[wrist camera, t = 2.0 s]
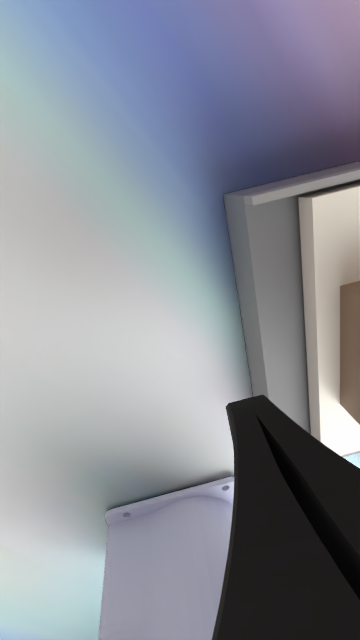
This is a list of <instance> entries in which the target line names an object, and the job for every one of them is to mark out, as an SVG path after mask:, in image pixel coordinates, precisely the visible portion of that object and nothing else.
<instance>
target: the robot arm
mask: <svg viewBox="0 0 360 640" xmlns="http://www.w3.org/2000/svg"><path fill="white" fill-rule="evenodd" d="M226 410H227V415H228V420H229V425H230V430H231V435H232V440H233V446H234V477H228V478H224V479H220V480H217V481H213V482H209V483H206V484H202V485H198V486H195V487H191V488H187V489H184V490H180V491H176V492H173V493H169V494H165V495H162V496H158V497H154V498H151V499H147V500H143V501H139V502H136V503H132V504H128V505H125V506H121V507H117V508H114V509H110V510H108V511H107V512H106V516H105V520H106V522H107V524H108V536H107V548H106V559H105V570H104V582H103V593H102V604H101V616H100V627H99V640H360V468H358V467H356V466H355V465H353V464H352V463H350V462H349V461H347V460H346V459H344V458H343V457H341V456H340V455H338V454H337V453H335V452H334V451H333V450H331V449H330V448H328V447H327V446H326V445H324V444H323V443H321V442H320V441H319V440H317V439H316V438H315V437H313V436H312V435H311V434H310V433H308V432H307V431H306V430H304V429H303V428H302V427H301V426H299V425H298V424H297V423H296V422H294V421H293V420H292V419H291V418H290V417H288V416H287V415H286V414H285V413H284V412H283V411H281V410H280V409H279V408H278V407H277V406H276V405H275V404H274V403H273V402H271V401H270V400H269V399H268V398H267V397H266V396H264V395H263V394H262V395H258V396H255V397H251V398H247V399H243V400H240V401H236V402H232V403H228V405H227V406H226Z"/></svg>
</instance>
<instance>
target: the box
mask: <svg viewBox="0 0 360 640" xmlns="http://www.w3.org/2000/svg"><path fill="white" fill-rule="evenodd" d="M358 182H360V161H357V162H353V163H349V164H345V165H341V166H337V167H333V168H329V169H324V170H320V171H316V172H312V173H308V174H304V175H300V176H296V177H292V178H288V179H284V180H280V181H276V182H272V183H268V184H264V185H260V186H256V187H252V188H247V189H243V190H239V191H235V192H231V193H227V194H223V198H224V204H225V211H226V218H227V225H228V231H229V238H230V245H231V251H232V258H233V265H234V271H235V278H236V285H237V291H238V298H239V305H240V311H241V318H242V325H243V331H244V338H245V345H246V351H247V358H248V365H249V372H250V378H251V385H252V392H253V397H255V396H258V395H262V394H263V395H264V396H266V397H267V398H268V399H269V400H270V401H271V402H273V403H274V404H275V405H276V406H277V407H278V408H279V409H280V410H281V411H283V412H284V413H285V414H286V415H287V416H288V417H290V418H291V419H292V420H293V421H294V422H296V423H297V424H298V425H299V426H301V427H302V428H303V429H304V430H306V431H307V432H308V433H310V434H311V427H310V409H309V390H308V371H307V352H306V333H305V314H304V296H303V277H302V258H301V239H300V220H299V201H298V197H302V196H306V195H310V194H314V193H318V192H322V191H326V190H330V189H334V188H338V187H342V186H346V185H350V184H354V183H358ZM356 453H360V451H356V452H352V453H349V454H345V455H341V457H345V456H349V455H352V454H356Z"/></svg>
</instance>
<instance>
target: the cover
mask: <svg viewBox="0 0 360 640" xmlns="http://www.w3.org/2000/svg"><path fill="white" fill-rule="evenodd" d="M298 201H299V220H300V239H301V258H302V277H303V296H304V314H305V333H306V352H307V371H308V390H309V409H310V427H311V435H312V436H313V437H315V438H316V439H317V440H319V441H320V442H321V443H323V444H324V445H326V446H327V447H328V448H330V449H331V450H333V451H334V452H335V453H337V454H338V455H340V456H341V455H345V454H349V453H352V452H356V451H360V182H358V183H354V184H350V185H346V186H342V187H338V188H334V189H330V190H326V191H322V192H318V193H314V194H310V195H306V196H302V197H298Z"/></svg>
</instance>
